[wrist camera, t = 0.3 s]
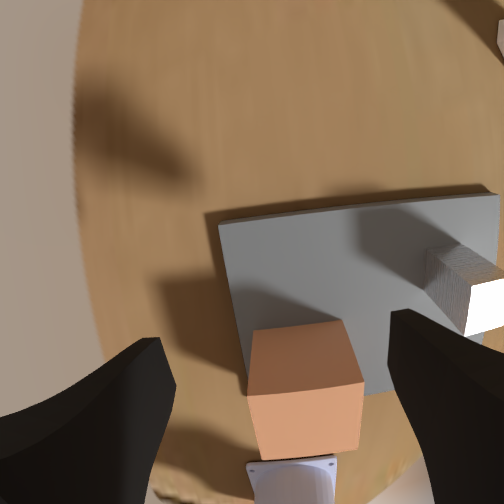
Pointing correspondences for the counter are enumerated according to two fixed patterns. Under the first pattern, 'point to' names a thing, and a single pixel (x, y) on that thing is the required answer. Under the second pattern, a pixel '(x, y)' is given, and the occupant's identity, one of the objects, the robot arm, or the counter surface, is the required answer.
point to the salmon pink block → (305, 391)
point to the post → (464, 287)
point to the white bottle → (501, 36)
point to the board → (350, 268)
